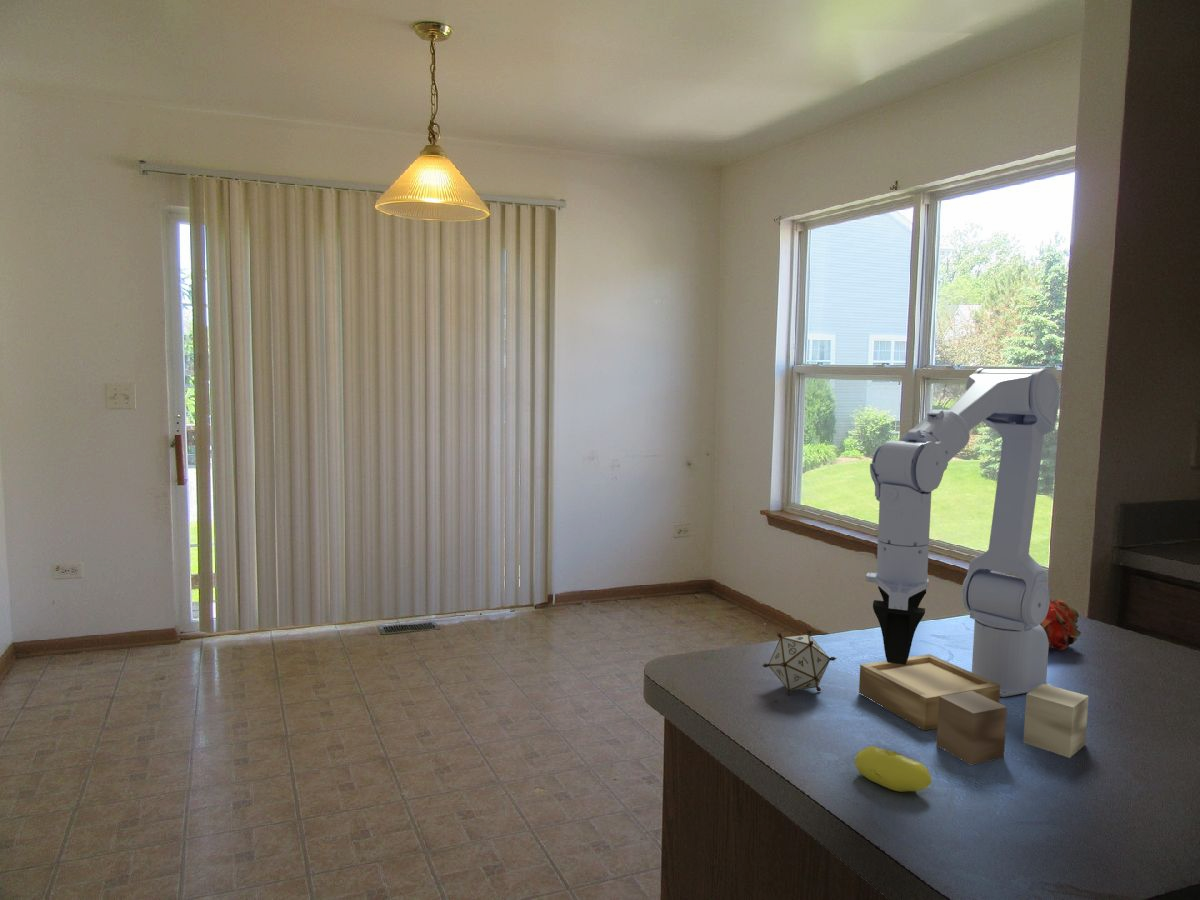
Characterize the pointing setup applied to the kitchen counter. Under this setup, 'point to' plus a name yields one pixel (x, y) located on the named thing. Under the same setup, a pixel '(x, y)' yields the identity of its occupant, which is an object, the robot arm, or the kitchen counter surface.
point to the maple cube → (1056, 720)
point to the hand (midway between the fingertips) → (898, 652)
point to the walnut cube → (971, 727)
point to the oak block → (920, 687)
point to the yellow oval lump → (892, 770)
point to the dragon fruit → (1061, 625)
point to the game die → (799, 662)
